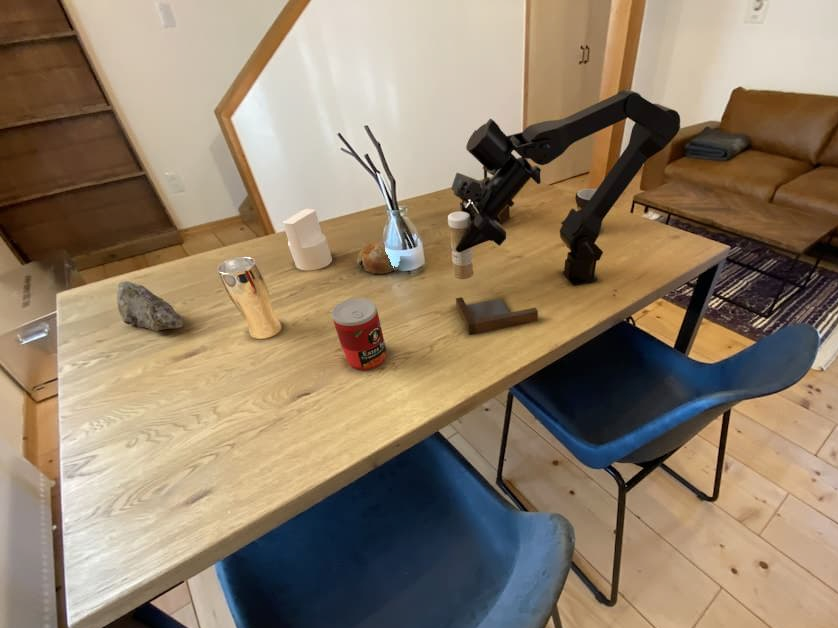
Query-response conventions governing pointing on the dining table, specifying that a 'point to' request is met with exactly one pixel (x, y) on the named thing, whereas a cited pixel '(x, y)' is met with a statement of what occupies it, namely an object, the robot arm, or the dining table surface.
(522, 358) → the dining table surface
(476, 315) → the corner guide
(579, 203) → the coffee mug
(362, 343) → the canned food
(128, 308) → the mineral rock
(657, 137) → the robot arm
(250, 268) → the beer glass
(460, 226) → the sprinkles bottle
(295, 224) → the base with upright slab
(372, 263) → the bread roll
